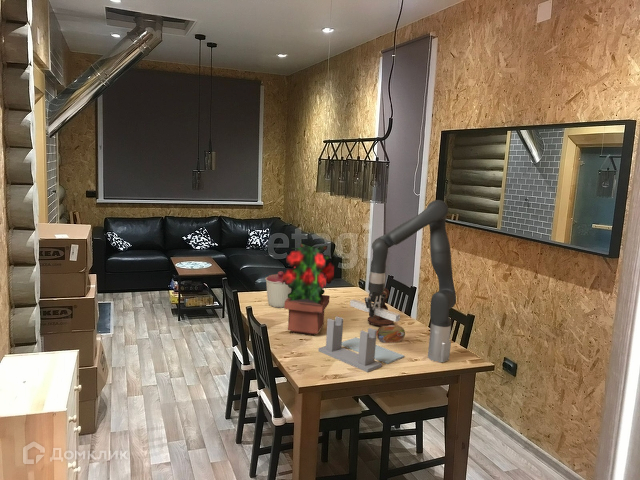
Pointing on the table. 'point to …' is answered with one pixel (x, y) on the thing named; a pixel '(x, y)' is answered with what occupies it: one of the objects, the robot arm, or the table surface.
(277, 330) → the table surface
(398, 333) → the tin
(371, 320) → the brown statuette
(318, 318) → the potted plant
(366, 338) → the rack
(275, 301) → the canister
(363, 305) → the steel bar
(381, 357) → the mat
